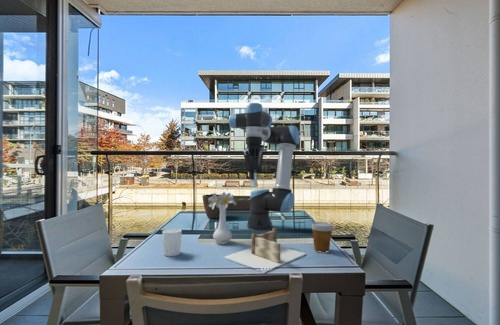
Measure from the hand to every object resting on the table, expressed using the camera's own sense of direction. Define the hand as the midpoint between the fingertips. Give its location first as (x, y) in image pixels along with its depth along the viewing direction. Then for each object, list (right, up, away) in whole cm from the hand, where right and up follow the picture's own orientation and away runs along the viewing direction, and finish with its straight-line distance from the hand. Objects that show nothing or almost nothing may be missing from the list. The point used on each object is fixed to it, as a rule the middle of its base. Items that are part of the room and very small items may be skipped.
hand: (253, 186), depth 128 cm
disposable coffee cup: (+31, -29, -5) cm, 43 cm away
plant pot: (-28, -29, +66) cm, 78 cm away
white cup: (-35, -28, -11) cm, 47 cm away
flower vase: (-16, -29, +7) cm, 33 cm away
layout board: (+5, -28, -13) cm, 32 cm away
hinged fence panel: (+5, -28, -17) cm, 33 cm away
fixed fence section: (+5, -28, -6) cm, 29 cm away
